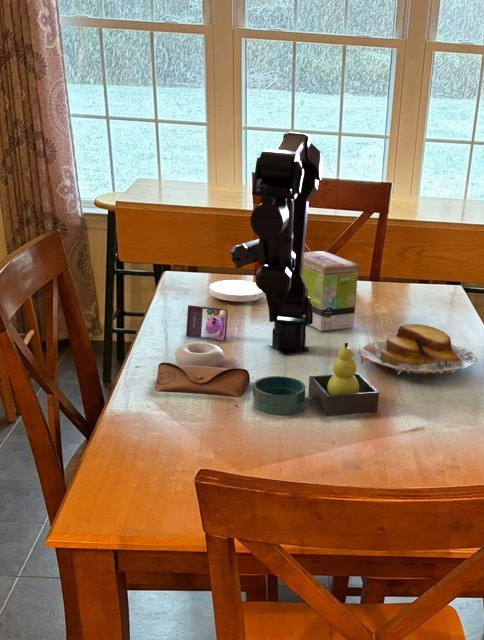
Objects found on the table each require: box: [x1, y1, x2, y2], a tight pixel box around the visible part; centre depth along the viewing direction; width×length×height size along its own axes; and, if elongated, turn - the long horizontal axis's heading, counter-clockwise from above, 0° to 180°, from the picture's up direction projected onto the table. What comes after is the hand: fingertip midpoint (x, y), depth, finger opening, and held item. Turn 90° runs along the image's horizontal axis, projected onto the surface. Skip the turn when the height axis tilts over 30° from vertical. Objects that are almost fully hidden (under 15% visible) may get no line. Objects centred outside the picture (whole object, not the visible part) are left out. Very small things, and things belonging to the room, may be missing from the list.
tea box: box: [302, 250, 359, 332], centre depth 196 cm, size 15×10×15 cm, turn 34°
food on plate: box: [358, 323, 478, 376], centre depth 177 cm, size 25×25×7 cm
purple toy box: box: [185, 304, 229, 342], centre depth 184 cm, size 7×5×9 cm
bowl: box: [252, 375, 307, 416], centre depth 152 cm, size 10×10×4 cm
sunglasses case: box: [154, 361, 251, 398], centre depth 158 cm, size 18×7×7 cm, turn 91°
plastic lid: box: [209, 279, 266, 302], centre depth 211 cm, size 14×14×2 cm
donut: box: [174, 341, 225, 368], centre depth 169 cm, size 10×4×10 cm
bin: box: [307, 372, 380, 417], centre depth 155 cm, size 10×10×5 cm
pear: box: [327, 341, 359, 395], centre depth 153 cm, size 6×6×12 cm
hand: (275, 313), depth 160 cm, fingers open, 9 cm apart
